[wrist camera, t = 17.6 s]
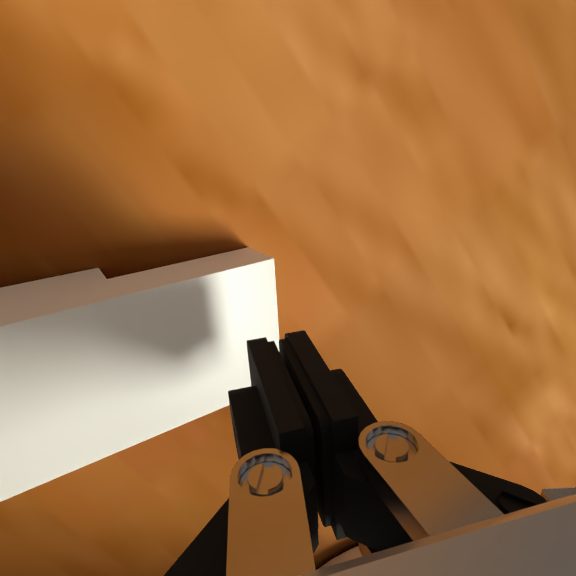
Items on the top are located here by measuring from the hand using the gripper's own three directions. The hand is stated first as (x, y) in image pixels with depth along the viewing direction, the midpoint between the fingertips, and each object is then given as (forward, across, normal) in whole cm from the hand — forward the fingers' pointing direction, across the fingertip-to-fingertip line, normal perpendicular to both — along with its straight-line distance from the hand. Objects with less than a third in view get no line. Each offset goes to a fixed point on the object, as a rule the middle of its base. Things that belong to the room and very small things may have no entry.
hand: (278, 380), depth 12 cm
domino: (+4, 0, 0) cm, 4 cm away
